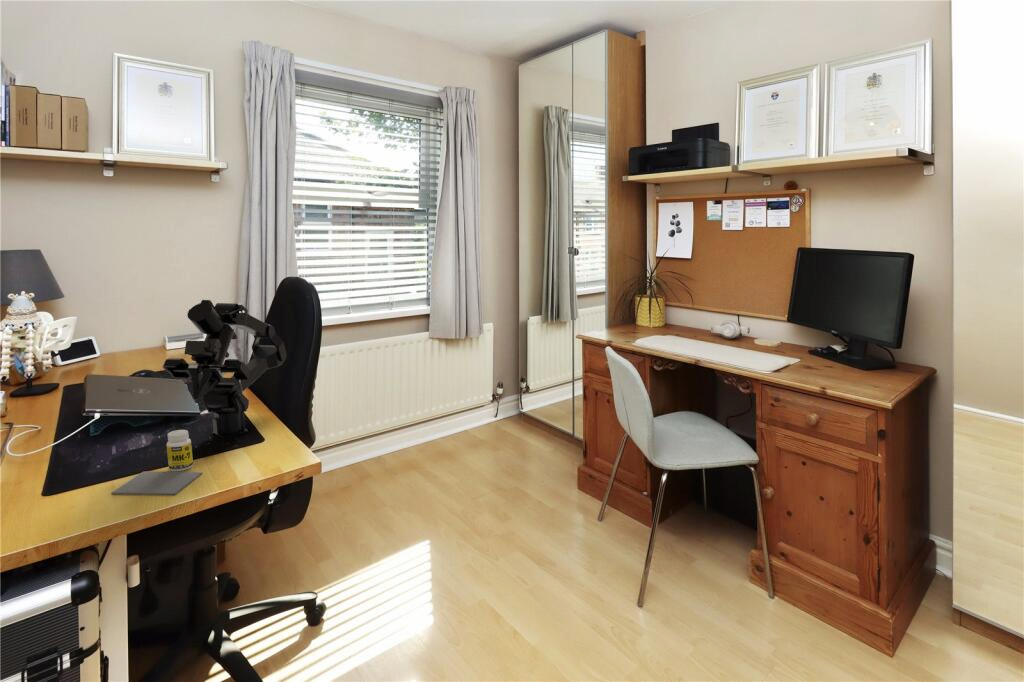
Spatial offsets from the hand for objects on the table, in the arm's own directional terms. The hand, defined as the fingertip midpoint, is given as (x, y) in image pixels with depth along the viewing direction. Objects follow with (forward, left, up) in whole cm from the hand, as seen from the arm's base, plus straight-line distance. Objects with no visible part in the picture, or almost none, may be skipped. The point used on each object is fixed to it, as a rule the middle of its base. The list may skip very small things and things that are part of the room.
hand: (195, 399), depth 130 cm
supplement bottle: (+6, +5, -14) cm, 16 cm away
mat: (+12, +10, -14) cm, 21 cm away
